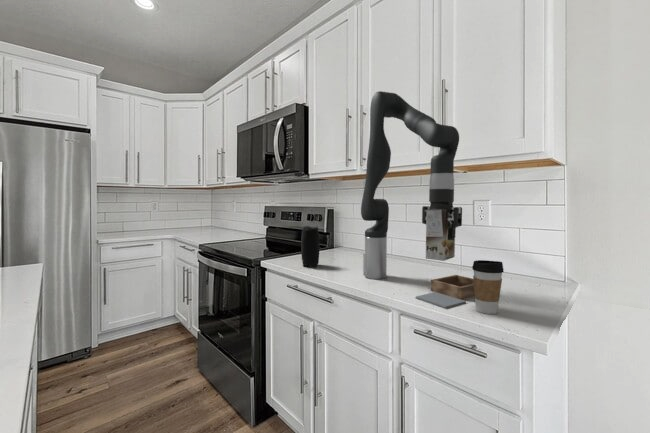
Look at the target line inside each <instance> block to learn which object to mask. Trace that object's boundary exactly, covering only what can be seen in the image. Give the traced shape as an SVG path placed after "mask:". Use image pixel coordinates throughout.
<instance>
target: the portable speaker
mask: <svg viewBox="0 0 650 433" xmlns="http://www.w3.org/2000/svg"><path fill="white" fill-rule="evenodd" d="M300 239H301V240H300V244H301V247H300V248H301V250H300V251H301V252H300V253H301V260H302V261H301V262H302V267H305V266H308V267H309V268H316V267H317V266H318V265H319V264H320V263H319V260H320V234H319V226H315V225H314V226H309V225H304V226H302V230H301V237H300Z"/></svg>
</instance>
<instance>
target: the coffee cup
mask: <svg viewBox="0 0 650 433" xmlns="http://www.w3.org/2000/svg"><path fill="white" fill-rule="evenodd" d="M471 270H472V271H473V278H472V279H474V292H475V296H474V302H475V303H474V304H475V311H477V312H479V313H481V314H487V315H495V314H497V313H498V312H499V303H500V299H501V297H500V296H501V288H502V284H503V283H502V281H503V278H502V276H503V273H505V272H504V264H503V262H502V261H497V260H486V259H485V260H483V259H482V260H481V259H479V260H473V264H472V268H471Z"/></svg>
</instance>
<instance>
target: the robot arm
mask: <svg viewBox="0 0 650 433" xmlns="http://www.w3.org/2000/svg"><path fill="white" fill-rule="evenodd" d="M369 108H370V109H369V116H370V117H369V118H370V119H369V122H370V123H369V139H368V140H369V141H368V149H367V151H368V152H367V157H366V173H365V182H364V188H363V194H362V200H361V206H360V215H361V218H362V219H363V221H366V222H370V221H371V222H373V221H375V224H373V225H372V226H371V227H369V228H366V229H365V231H364V253H363V261H362V262H363V265H362V266H363V268H362V269H363V270H362V272H363V273H362V274H363V276H364V277H365V278H367V279H371V280H373V279H374V280H381V279H386V278H387V256H388V255H387V245H388V240H387V239H388V235H387V234H388V229H389V219H390V218H389V216H390V212H389V211H390V207H389V203H388V201H387V200H386V199H384V198H375V194H376V190H377V188H378V187H379V185H380V183H381V182H382V180H383V179H384V178H385V177H386V175H387V174H388V172H389V170H390V165H391V158H392V150H391V146H390V144H389V141H388V139H387V137H386V133H385V129H384V128H385V127H384V126H385V125H384V123H385V118H388V119H389V118H394V119H398V120H400V121H402V122H403V123H404V125H405V127H406V128H407V129H408V130H409V131H410V132H412V133H413V134H416V135H417V136H419V137H420V138H421V139H422V141H423V142H424V143H426V144H427V145H429V146H431V147H434V148H439V151H438V154H436V155H433V156H432V157H431V159H430V172H429V173H430V174H429V175H430V176H429V183H428V184H429V188H428V190H429V192H428V193H429V195H428V197H429V198H428V201H429V203H430V205H423V206H422V208H421V209H422V210H421V218H422V219H421V222H422V225H426V213H427V210H426V209H445V210H448V212H449V213H450V215H451V218H448V219H447V220H448V227H449V228H448V240H454V238H455V239H456V229H457V228H459V227H461V226H462V225H463V207H461V206H455V207H454V206H453V205H454V204H453V203H454V201H455V177H454V171H455V170H454V163H455V162H454V160H455V157H456V154H457V151H458V147H459V144H460V143H459V142H460V134H459V130H458V129H457V128H456V126H451V125H445V124H440V123H437V121H436V120H435V119H434V118H433V117H432V116H430V115H428V114H426V113H424V112H422V111H420V110H419V109H416V108H414V106H412V105H410V104H409V103H408V102H407V101H406V100H405V99H404V98H402V97H401V96H400V95H398V94H397V93H395V92H389V91H382V90H380V91H376V92H375V93H374V94H373V95H372V97H371V101H370V107H369ZM452 212H453V213H454V217H453V215H452V214H451V213H452Z"/></svg>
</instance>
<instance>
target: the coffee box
mask: <svg viewBox="0 0 650 433" xmlns="http://www.w3.org/2000/svg"><path fill="white" fill-rule="evenodd" d="M426 210H427V213H426V224H425V228H426V229H425V259H426V260H434V261H441V262H445V261H448V260H450V259H453V258H455V256H456V254H455V251H456V250H455V248H456V247H455V246H456V237H455V238H454V240H448V228H449V227H448V220H447V219H448V218H451V215H450V213H449V212H448V210H445V209H426ZM451 214H452V215H453V217H454V213H453V212H452V213H451Z"/></svg>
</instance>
